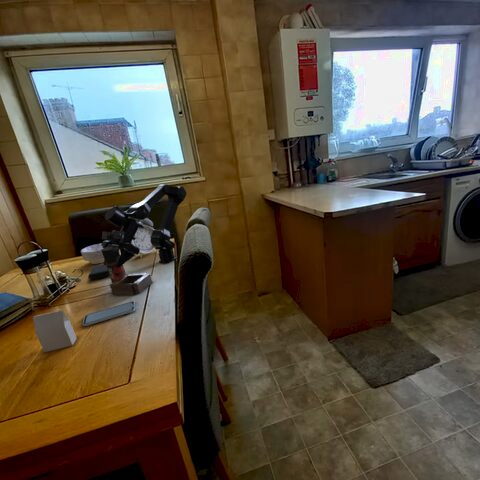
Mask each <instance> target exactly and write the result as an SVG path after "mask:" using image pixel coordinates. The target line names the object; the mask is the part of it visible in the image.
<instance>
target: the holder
mask: <svg viewBox="0 0 480 480" xmlns="http://www.w3.org/2000/svg"><path fill="white" fill-rule="evenodd" d="M152 279H153V278H152V276H151V273H148V272H141V273H140V272H137V273H129V274H126V275H124V276H122V277H121V278H119V279H118V280H116V281H115V282H113V283H112V282H111V283H110V284H109V287H110V291H111V295H114V296H117V297H118V296H134V295H135V294H137V295H138V294H141V293H143V292H144V291H145V290H146V289H147V288H148V287H150V286H151V284H153V280H152Z"/></svg>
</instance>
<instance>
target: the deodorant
mask: <svg viewBox="0 0 480 480" xmlns="http://www.w3.org/2000/svg"><path fill="white" fill-rule="evenodd" d="M101 251H102V254H103V257H104V260H105V263H106V266H107V269H108V272H109V275H110V276H109V278H110V281H111V284H112V283H113V282H115V281H116V280H118V279H119V278H121V277H122V276H124V275H127V273H126V270H125V266H124V264H123V265H122V266H121V267H119V268H118V267H116V266H117V263H118V260H119V257H120V255H121V252H120V249H119V250H118V247H117V246H111V247H106V248H104V249H102V250H101Z"/></svg>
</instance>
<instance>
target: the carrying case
mask: <svg viewBox="0 0 480 480" xmlns="http://www.w3.org/2000/svg"><path fill="white" fill-rule="evenodd" d="M108 277H110V275H109V272H108V269H107V266H106V265H104V263H101V264H97V265H94V266H92V268H91V269H90V272H89V273H88V277H87V278H88V279H89V281H95V280H99V279H104V278H108Z"/></svg>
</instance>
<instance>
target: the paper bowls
mask: <svg viewBox="0 0 480 480" xmlns="http://www.w3.org/2000/svg"><path fill="white" fill-rule="evenodd" d="M101 244H102V243H97V244H92V245H89V246H86V247H84V248H82V249H81V250H80V254H81V256H82V259H83V261H86V262H89V263H90V264H91V265H100V264H104V257H103V254H102V251H101V250H102V249H104V248H102V246H101Z"/></svg>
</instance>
